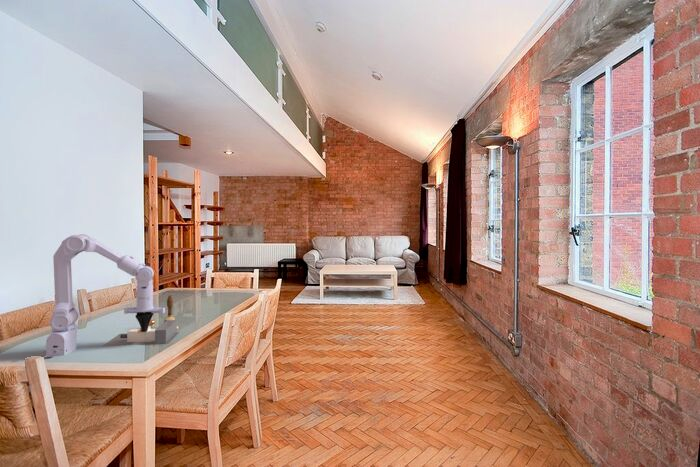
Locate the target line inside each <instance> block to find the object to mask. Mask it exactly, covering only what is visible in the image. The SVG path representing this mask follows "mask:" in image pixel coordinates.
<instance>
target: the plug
mask: <svg viewBox="0 0 700 467" xmlns="http://www.w3.org/2000/svg"><path fill="white" fill-rule="evenodd" d="M139 329H140V328H131V329H130V330H128V331H127V332H126V333H120V334H121V336H120V338H127V343H128V342H155V330H156V329H157V328H154V329H151V326H148V330H147V331H146V332H141V333H138V330H139Z"/></svg>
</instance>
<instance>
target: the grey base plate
mask: <svg viewBox="0 0 700 467" xmlns="http://www.w3.org/2000/svg"><path fill="white" fill-rule="evenodd" d="M150 326H151V329H156V330H155V342H128V343H127V338H120V336H121V334H122V333H119V334H117V335H115V337H113V338H111V339H110V340H108V341H107V342H105V343H104V344H103V345H102V347H104V346H106V347H107V346H109V347H110V346H138V345H139V346H140V345H167V344H170V343H171V342H172V341H173V340H174V339H175V338H176V337H177V335H179V334H180V332H179V331H178V329H177V326H178V320H176V319H175V320H167V321H166V322H165V323H164V322H163V323H162V324H161V325H160V326H158V327H157V328H155V323H154V324H151V325H150Z"/></svg>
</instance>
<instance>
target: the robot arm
mask: <svg viewBox="0 0 700 467" xmlns="http://www.w3.org/2000/svg"><path fill="white" fill-rule="evenodd" d="M82 252H85V253H97V254H99V255H101V256H102V257H105V258H106V259H108V260H110V261H112V262H114V263H116V267H117V268H118V269H120V270H121V271H123V272H124V273H126V274H128V275H130V276H132V277H135V280H136V282H137V283H136V307H135V306H134V307H126V308H123V314H124V315H126V314H136V315H135V318H136V321H137V322H138V323H139V326H140V329H141V330H142V332H146V331H147V330H148V326H149V323H150V320H152V318H153V316H154V314H165V312H166V308H165V307H160V306H159V307H158V306H154V284H153V283H154V281H153V279H154V276H155V273H154V272H155V271H154V269H153V268H152V267H151V266H150V265H146V264H145V263H143V262H140V261H138V260H136V259H135V257H134V256H133V255H121V254H119V253H118V252H117V251H115V250H114V249H112V248H111V247H109V246H107V245H105V244H104V243H102V242H101V241H99V240H97V239H95V238H93V237H90V236H89V235H87V234H82V233H81V234H73V235H70V236H68V237H66V238H65V239H63V240H62V241H61V244H60V245H59V247H58V248H57V250H55V252H54V254H53V258H52V259H53V280H54V282H53V283H54V302H55V304H54V306H53V310H52V315H51V317H50V319H49V326H50V327H51V333H50V334H49V335H48V337H47V338H46V340H45V345H46V346H45V348H46V350H45V351H46V353H45V355H43V358H53V357H56V356H57V357H58V356H59V357H60V356H66V355H67V354H69V353H71V352H74V351H76V350H77V337H78V335H77V330H78V329H77V323H76V321H78V320H79V313H78V311H77V310H76V305H75V303H74V300H73V276H72V260H73V259H74V258H75V257H76V256H78V255H79V254H80V253H82Z"/></svg>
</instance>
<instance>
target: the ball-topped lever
mask: <svg viewBox="0 0 700 467" xmlns="http://www.w3.org/2000/svg"><path fill="white" fill-rule="evenodd" d="M155 323H156V320H155V319H153V320H152V319H151V320H150V323H149V326H150V325H151V324H154V325H155ZM138 329H139V330H138V333H141V332H142V330H141V328H138Z"/></svg>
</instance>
